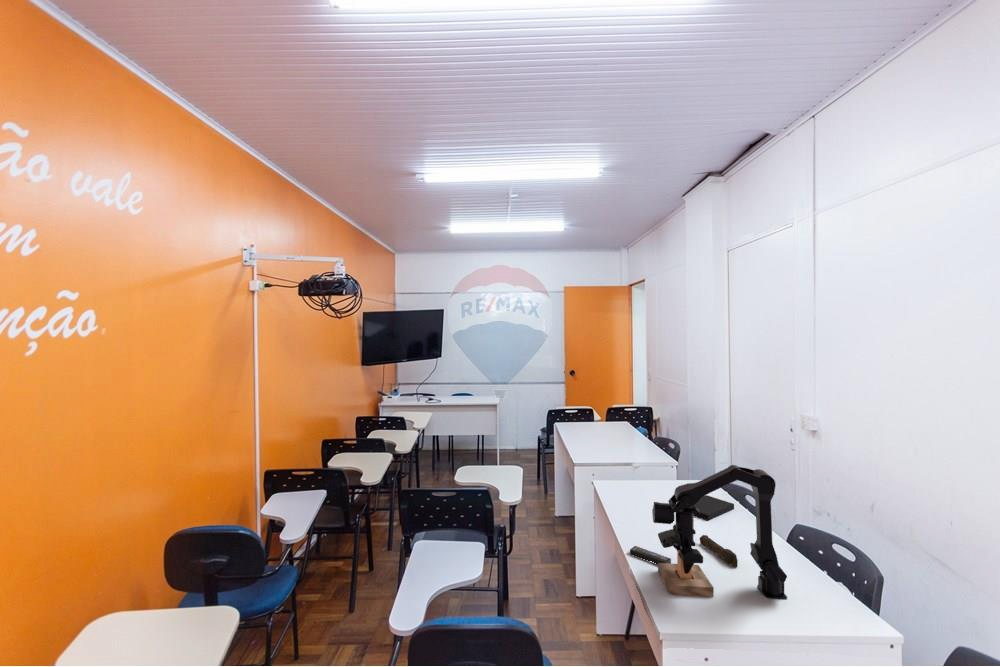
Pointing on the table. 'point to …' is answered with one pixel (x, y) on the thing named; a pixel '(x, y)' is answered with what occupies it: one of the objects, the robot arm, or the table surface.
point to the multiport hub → (649, 555)
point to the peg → (682, 568)
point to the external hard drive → (712, 507)
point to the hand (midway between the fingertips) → (684, 570)
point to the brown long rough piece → (719, 550)
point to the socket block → (685, 581)
